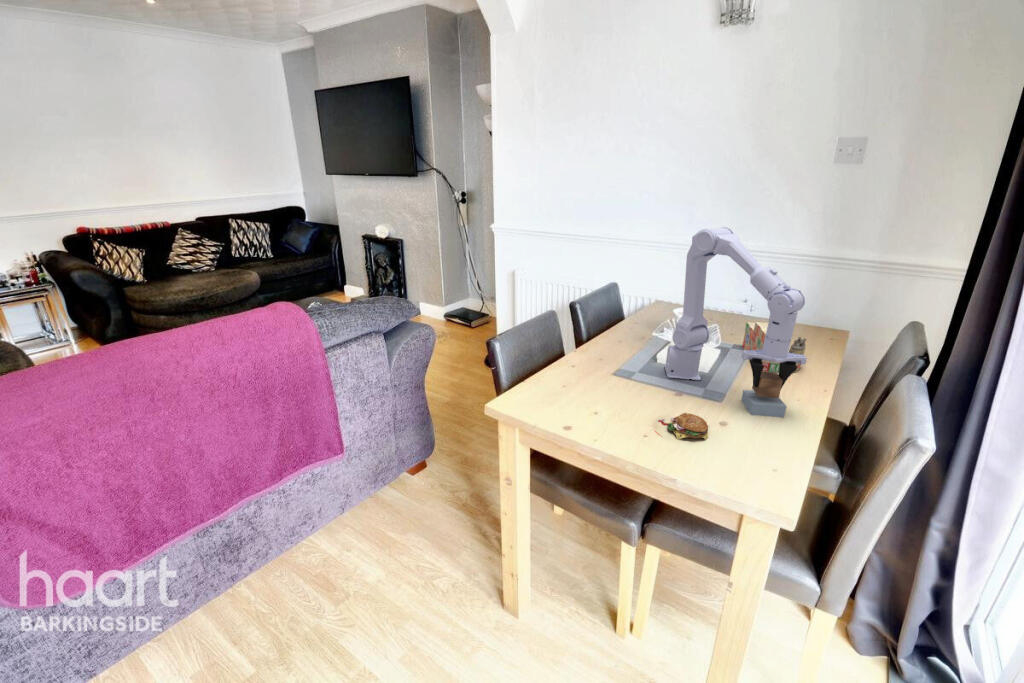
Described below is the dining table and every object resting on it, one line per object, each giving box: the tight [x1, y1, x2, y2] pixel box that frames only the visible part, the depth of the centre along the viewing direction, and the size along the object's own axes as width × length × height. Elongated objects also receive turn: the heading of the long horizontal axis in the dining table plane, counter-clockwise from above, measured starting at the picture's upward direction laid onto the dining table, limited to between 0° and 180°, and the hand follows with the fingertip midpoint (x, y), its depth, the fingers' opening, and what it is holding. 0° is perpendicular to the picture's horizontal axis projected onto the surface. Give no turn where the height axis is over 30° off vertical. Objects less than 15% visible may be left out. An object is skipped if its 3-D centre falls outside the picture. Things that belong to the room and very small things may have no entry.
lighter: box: [788, 336, 807, 373], centre depth 150 cm, size 7×4×10 cm, turn 137°
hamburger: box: [653, 412, 709, 440], centre depth 115 cm, size 14×14×6 cm
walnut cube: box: [751, 371, 783, 398], centre depth 124 cm, size 5×5×5 cm
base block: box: [740, 389, 788, 418], centre depth 126 cm, size 8×8×4 cm
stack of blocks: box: [742, 321, 780, 374], centre depth 157 cm, size 21×6×12 cm, turn 168°
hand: (766, 386), depth 124 cm, fingers closed on walnut cube, 5 cm apart
